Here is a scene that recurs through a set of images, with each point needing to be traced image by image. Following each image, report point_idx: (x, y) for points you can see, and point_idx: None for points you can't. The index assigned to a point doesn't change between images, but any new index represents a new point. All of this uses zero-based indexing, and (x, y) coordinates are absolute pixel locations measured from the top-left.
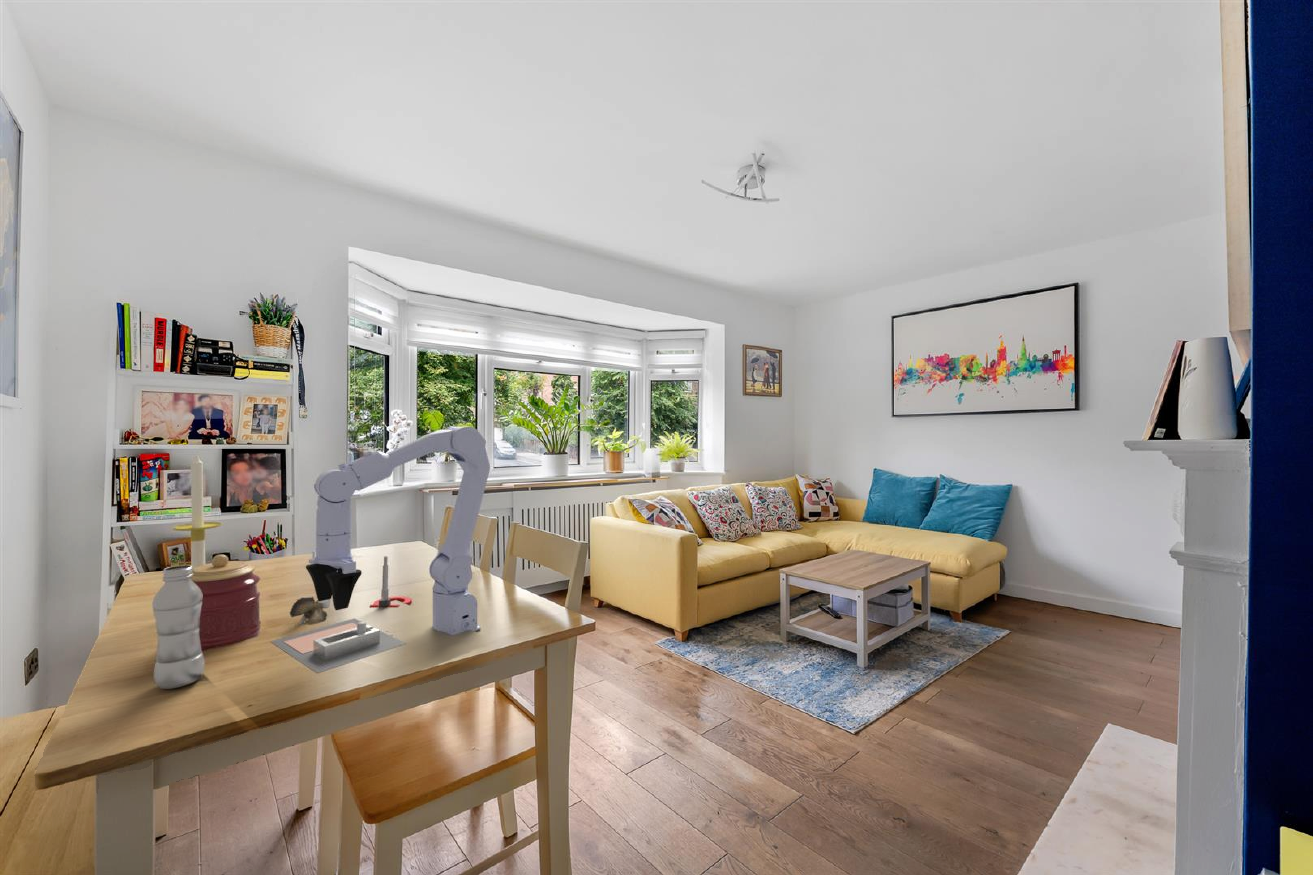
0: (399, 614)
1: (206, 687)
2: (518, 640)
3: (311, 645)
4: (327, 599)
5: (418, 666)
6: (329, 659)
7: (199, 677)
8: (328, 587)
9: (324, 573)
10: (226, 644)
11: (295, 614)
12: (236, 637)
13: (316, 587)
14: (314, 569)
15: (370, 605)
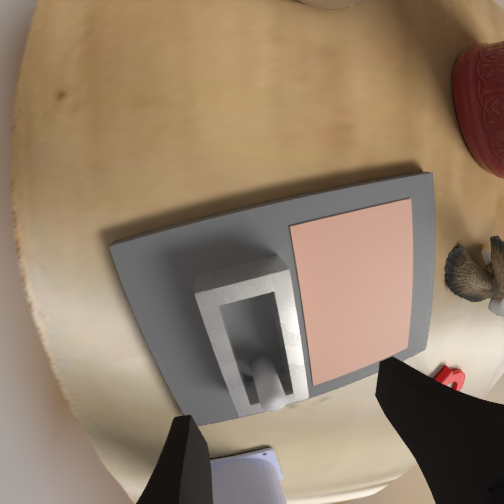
0: None
1: (249, 10)
2: (133, 497)
3: (337, 256)
4: (377, 386)
5: (85, 409)
6: (190, 286)
7: (301, 1)
8: (405, 427)
9: (453, 470)
10: (459, 97)
11: (493, 246)
12: (470, 116)
13: (425, 398)
14: (495, 468)
15: (451, 372)
